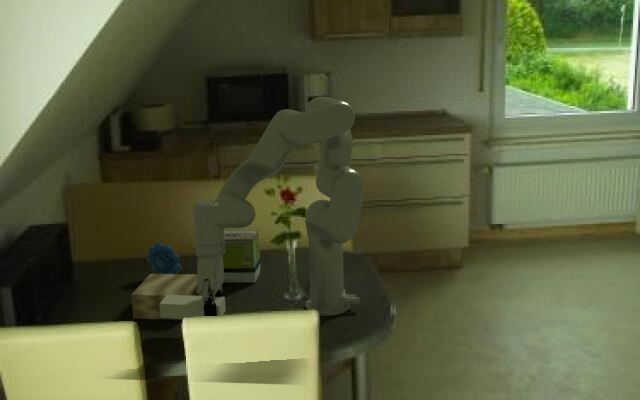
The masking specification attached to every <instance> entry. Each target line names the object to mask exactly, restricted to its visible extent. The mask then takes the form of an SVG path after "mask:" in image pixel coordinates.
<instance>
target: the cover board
mask: <svg viewBox="0 0 640 400" xmlns="http://www.w3.org/2000/svg"><path fill="white" fill-rule="evenodd" d="M209 297H211V296H210V295H209ZM211 299H212V297H211ZM215 303H216V309H217V315H223V316H224V315H225V312H226V311H227V310H226V297H225V296H223V297H215ZM194 316H204V304H203V298H202V296H185V295H166V296H165V298H164V299H163V300H162V301H161V302H160V318H177V319H176V320H178V319H183V318H184V317H194Z"/></svg>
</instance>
